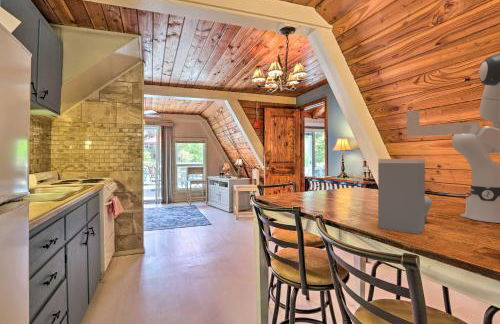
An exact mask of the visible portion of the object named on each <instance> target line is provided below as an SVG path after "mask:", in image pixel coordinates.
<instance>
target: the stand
mask: <svg viewBox="0 0 500 324" xmlns="http://www.w3.org/2000/svg"><path fill="white" fill-rule="evenodd" d="M425 160H426V159H425V158H378V160H377V161H378V162H377V164H378V165H377V167H378V170H377V172H378V173H377V174H378V177H377V179H378V181H377V183H378V184H377V186H378V187H377V189H378V190H377V193H378V195H377V198H378V199H377V201H378V202H377V203H378V204H377V205H378V206H377V207H378V208H377V209H378V210H377V213H378V214H377V215H378V218H377V219H378V221H377V223H378V224H377V226H378V227H377V228H378V229H381V230H388V231H389V230H390V231H395V232H402V233H407V234H413V235H419V234H420V233H422V232H423V231H424V230H425V228H426V227H425V226H426V225H425V224H426V223H425V222H426V221H425V196H426V193H425V192H426V190H425V188H426V186H425V185H426V184H425V183H426V180H425V179H426V177H425V176H426V175H425V173H426V171H425V169H426V168H425V167H426V161H425Z"/></svg>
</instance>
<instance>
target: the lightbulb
mask: <svg viewBox="0 0 500 324" xmlns="http://www.w3.org/2000/svg"><path fill="white" fill-rule="evenodd" d="M432 205H433V201H432V199H431V198H430V197H429V196H427V195H425V222H427V221H428V220H427V219H428V215H429V211H430V209H431V208H432Z"/></svg>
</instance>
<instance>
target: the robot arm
mask: <svg viewBox="0 0 500 324" xmlns="http://www.w3.org/2000/svg"><path fill="white" fill-rule="evenodd" d="M478 77H479V78H478V80H479V81H480V83H481V84H483V85H485V86H484V89H483V92H482V97H481V100H480V105H479V109H478V113H479V116H480V117H481V118H482V119H484V120H485V121H487V122H490V123H492V124H491V126H489V125H488V126H487V125H484V126H483V127H480V128H479V127H475V126H472V125H469V124H464V126H463V127H462V129H463V130H465V131H468V132H470V133H471V134H453V136H452V138H451V146H452V148H453V149H454V150H455V151H456V152H457V153H459V154H460V155H462V156H463V157H464V159H466V161H467V162H468V164H469V167H470V170H471V185H470V189H469V190H470V195H469V196H468V197H467V198H466V199H465V212H464V213H461V214H460V217H462V218H466V219H469V220H470V219H471V220H474V221H479V222H484V223H485V222H486V223H498V224H500V163H498V162H496V161H493V160H492V158H491V157H490V154H500V53H497V54H493V55H490V56H488V57H486V58H484V60H482V62H481V64H480V67H479V69H478Z"/></svg>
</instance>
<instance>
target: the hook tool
mask: <svg viewBox="0 0 500 324" xmlns="http://www.w3.org/2000/svg"><path fill="white" fill-rule="evenodd" d="M405 112H406V124H405V125H406V129H405V130H406V131H405V132H406V136H405V137H407V138H409V137H410V138H412V137H413V138H414V137H430V136H431V137H432V136H448V135H449V136H452V135H454V134H471V133H470V132H468V131H465V130H463V129H462V127H463V126H464V124H469V125H472V126H475V127H479V128H481V123H480V121H470V122H455V123H445V124H444V123H441V124H440V123H439V124H428V125H420V111H419V110H417V109H416V110H409V111H408V110H407V111H405Z"/></svg>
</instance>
